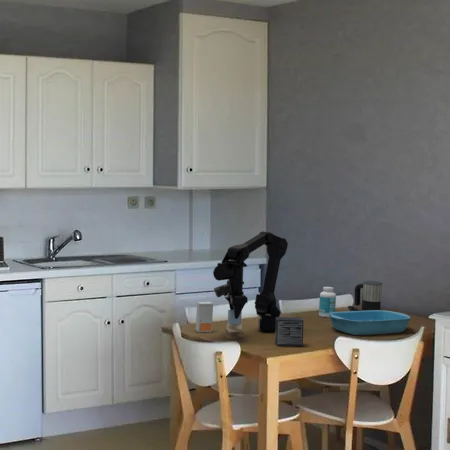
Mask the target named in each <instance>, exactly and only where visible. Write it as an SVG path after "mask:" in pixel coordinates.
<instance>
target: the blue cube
mask: <svg viewBox="0 0 450 450" xmlns="http://www.w3.org/2000/svg"><path fill="white" fill-rule="evenodd" d="M242 313H243V312H242V311H241V313H240V315H239V317H238V319H235V315H234V310H230V309H227V322H228V323H229V324H242Z"/></svg>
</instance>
